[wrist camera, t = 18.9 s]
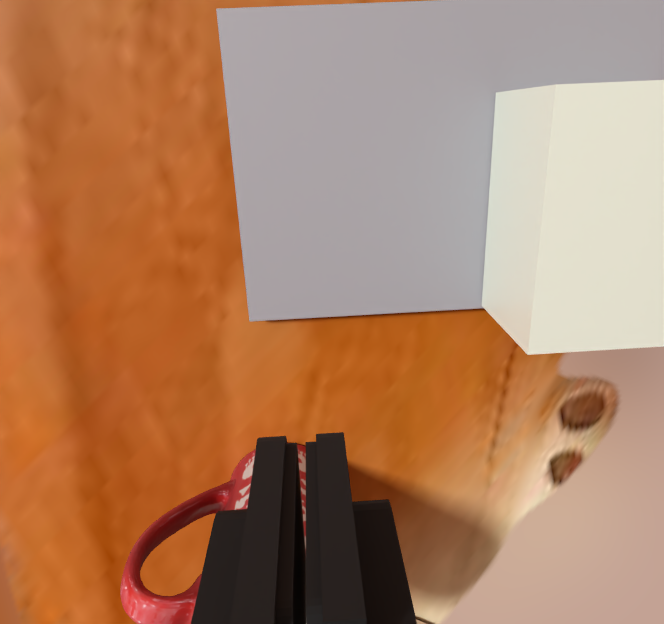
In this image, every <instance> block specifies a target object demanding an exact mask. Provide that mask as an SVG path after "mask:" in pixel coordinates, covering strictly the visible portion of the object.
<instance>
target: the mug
mask: <svg viewBox="0 0 664 624" xmlns="http://www.w3.org/2000/svg"><path fill="white" fill-rule="evenodd" d="M297 447H298V459H299V472H300V485H301V498H302V511H303V524H304V536H305V550H306V447H305V446H302V445H298V444H297ZM255 452H256V450H254V451H252V452H250V453H249V454H247V455H246V456H245V457H244V458H243V459H242V460H241V461H240V462H239V463H238V465H237V466H236V468H235V470H234V471H233V474H232V477H231V480H230V481H229V482H227V483H224V484H222V485H220V486H218V487H215V488H212V489H210V490H208V491H205V492H203V493H201V494H199V495H197V496H195V497H193V498H191V499H189V500H187V501H185V502H184V503H182V504H180V505H178V506H177V507H175V508H173V509H172V510H170V511H169V512H167V513H166V514H164V515H163V516H162V517H160V518H159V519H158V520H156V521H155V522H154V523H153V524H152V525H151V526H150V527H149V528H147V529H146V531H145V532H144V533H143V534H142V535H141V537H140V538H139V539H138V541H137V542H136V543H135V545H134V547H133V549H132V551H131V552H130V555H129V557H128V560H127V562H126V565H125V569H124V572H123V577H122V582H121V600H122V604H123V608H124V610H125V612H126V613H127V614H128V616H129V617H130V618H131V619H132V620H134V621H135V622H136V623H138V624H191V620H192V616H193V611H194V607H195V602H196V598H197V594H198V589H199V585H200V580H201V576H202V574H201V575H200V576H199V577H198V578H197V579H196V581H195V582H194V583H193V585H192V586H191V587H190V588H189V589H188V590H186V591H185V592H183V593H181V594H177V595H175V596H160V595H157V594H154V593H152V592H150V591H149V590H148V589H146V588H145V586H144V585H143V583H142V581H141V579H140V570H141V567H142V564H143V562H144V561H145V559H146V558H147V556H148V555H149V554H150V552H151V551H152V550H153V549H154V548H155V547H157V546H158V545H159V544H160V543H161V542H163V541H164V540H165V539H166V538H168V537H169V536H171V535H172V534H174V533H176V532H177V531H178V530H180V529H181V528H183V527H185V526H187V525H188V524H190V523H192V522H193V521H195V520H197V519H199V518H202V517H203V516H206V515H209V514H213V513H217V512H218V511H225V510H240V509H247V506H248V499H249V492H250V486H251V479H252V472H253V465H254V459H255ZM306 624H307V622H306Z"/></svg>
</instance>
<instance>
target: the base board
mask: <svg viewBox="0 0 664 624" xmlns="http://www.w3.org/2000/svg"><path fill="white" fill-rule="evenodd" d="M216 10H217V19H218V29H219V38H220V48H221V57H222V66H223V76H224V85H225V95H226V104H227V114H228V123H229V132H230V142H231V151H232V161H233V170H234V179H235V189H236V198H237V208H238V217H239V227H240V236H241V245H242V255H243V264H244V274H245V283H246V292H247V302H248V311H249V321H265V320H283V319H301V318H318V317H336V316H354V315H371V314H389V313H407V312H425V311H442V310H460V309H478V308H483V307H482V292H483V277H484V262H485V247H486V232H487V217H488V202H489V187H490V172H491V157H492V142H493V127H494V112H495V97H496V92H503V91H511V90H518V89H526V88H533V87H540V86H548V85H555V84H578V83H601V82H624V81H648V80H664V0H438V1H412V2H385V3H358V4H331V5H304V6H277V7H250V8H224V9H216Z"/></svg>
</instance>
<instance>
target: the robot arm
mask: <svg viewBox="0 0 664 624" xmlns="http://www.w3.org/2000/svg"><path fill="white" fill-rule="evenodd" d="M306 622H307V624H426V623H424V622H422V621H419V620H417V619H416V617H415V613H414V608H413V604H412V599H411V595H410V590H409V586H408V581H407V577H406V572H405V568H404V563H403V559H402V554H401V549H400V545H399V540H398V536H397V531H396V527H395V522H394V518H393V513H392V509H391V505H390V502H389V500H388V499H387V500H372V501H358V502H352V497H351V489H350V481H349V473H348V465H347V456H346V448H345V440H344V433H343V432H341V433H326V434H316V442H306V550H305V536H304V524H303V511H302V498H301V485H300V472H299V459H298V447H297V443H287V439H286V436H279V437H263V438H258V440H257V445H256V452H255V459H254V465H253V472H252V479H251V486H250V492H249V499H248V506H247V509H240V510H225V511H218V512H217V513H216V516H215V519H214V523H213V527H212V532H211V536H210V540H209V545H208V549H207V554H206V558H205V563H204V567H203V571H202V576H201V580H200V585H199V589H198V594H197V598H196V602H195V607H194V611H193V616H192V620H191V624H306Z"/></svg>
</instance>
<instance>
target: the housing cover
mask: <svg viewBox="0 0 664 624" xmlns="http://www.w3.org/2000/svg"><path fill="white" fill-rule="evenodd" d="M482 307H483V308H484V309H485V310H486V311H487V312H488V313H489V314H490V315H491V316H492V317H493V318H494V319H495V320H496V322H497V323H498V324H499V325H500V326H501V327H502V328H503V329H504V330H505V331H506V332H507V333H508V334H509V335H510V336H511V337H512V339H513V340H514V341H515V342H516V343H517V344H518V345H519V346H520V347H521V348H522V349H523V350H524V351H525V352H526V353H527V354H528V355H530V354H547V353H563V352H580V351H597V350H614V349H631V348H647V347H663V346H664V80H648V81H624V82H601V83H578V84H555V85H548V86H540V87H533V88H526V89H518V90H511V91H503V92H496V97H495V112H494V127H493V142H492V157H491V172H490V187H489V202H488V217H487V232H486V247H485V262H484V277H483V292H482Z"/></svg>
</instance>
